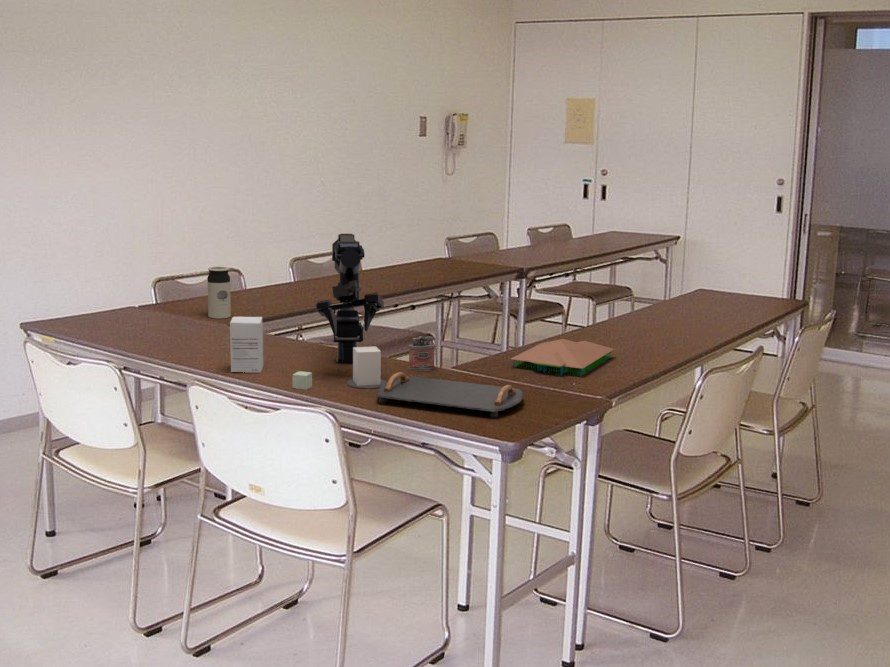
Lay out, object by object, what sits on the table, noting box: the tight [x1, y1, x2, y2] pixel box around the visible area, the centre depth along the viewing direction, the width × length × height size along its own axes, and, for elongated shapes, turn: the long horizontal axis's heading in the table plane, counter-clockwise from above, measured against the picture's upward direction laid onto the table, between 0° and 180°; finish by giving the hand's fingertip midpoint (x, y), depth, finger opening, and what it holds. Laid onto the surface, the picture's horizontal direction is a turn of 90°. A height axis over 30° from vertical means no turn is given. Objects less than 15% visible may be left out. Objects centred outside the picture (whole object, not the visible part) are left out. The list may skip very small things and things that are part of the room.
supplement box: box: [229, 316, 264, 374], centre depth 308 cm, size 9×9×15 cm
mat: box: [346, 378, 387, 390], centre depth 296 cm, size 11×11×1 cm
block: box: [292, 371, 313, 391], centre depth 291 cm, size 4×4×4 cm
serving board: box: [376, 371, 524, 419], centre depth 280 cm, size 39×23×6 cm, turn 69°
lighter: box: [408, 335, 436, 372], centre depth 313 cm, size 8×3×10 cm, turn 106°
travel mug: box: [206, 266, 232, 320], centre depth 383 cm, size 8×8×18 cm
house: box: [510, 338, 615, 378], centre depth 325 cm, size 23×33×8 cm
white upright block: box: [352, 346, 382, 386], centre depth 295 cm, size 6×6×10 cm
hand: (350, 333), depth 298 cm, fingers open, 9 cm apart
